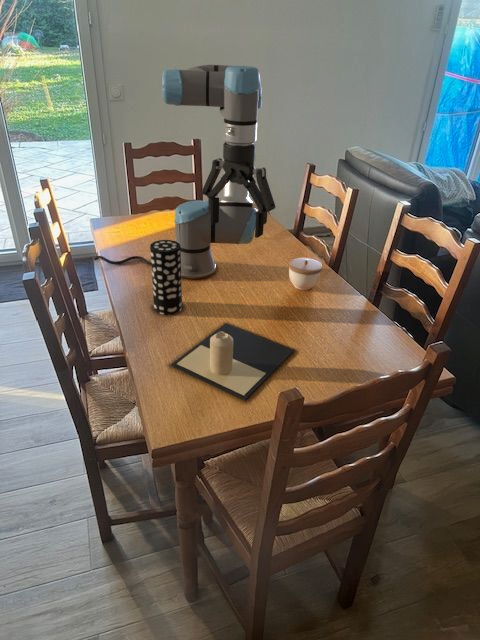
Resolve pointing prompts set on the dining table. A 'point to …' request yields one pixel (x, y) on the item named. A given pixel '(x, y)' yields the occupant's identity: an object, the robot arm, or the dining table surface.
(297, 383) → the dining table surface
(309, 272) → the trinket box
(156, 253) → the spotted tube
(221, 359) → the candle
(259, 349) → the table mat
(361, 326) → the dining table surface
